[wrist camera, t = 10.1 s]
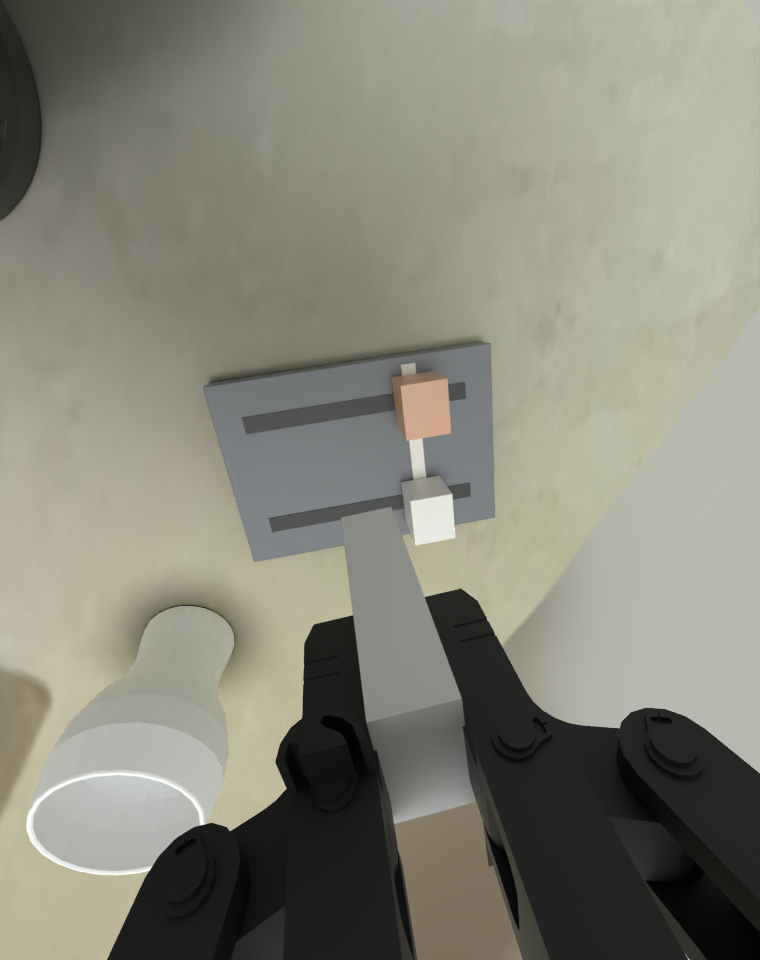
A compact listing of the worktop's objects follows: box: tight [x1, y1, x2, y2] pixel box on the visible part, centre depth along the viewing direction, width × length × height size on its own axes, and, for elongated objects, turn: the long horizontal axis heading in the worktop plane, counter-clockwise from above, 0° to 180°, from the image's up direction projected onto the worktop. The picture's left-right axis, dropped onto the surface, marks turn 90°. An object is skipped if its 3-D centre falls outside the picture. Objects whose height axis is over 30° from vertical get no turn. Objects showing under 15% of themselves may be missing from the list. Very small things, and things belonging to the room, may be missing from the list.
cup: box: [26, 606, 235, 875], centre depth 31 cm, size 11×11×15 cm
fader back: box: [401, 476, 455, 545], centre depth 32 cm, size 4×3×4 cm
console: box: [203, 341, 495, 562], centre depth 33 cm, size 14×20×2 cm
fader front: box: [392, 371, 451, 441], centre depth 29 cm, size 4×3×4 cm
